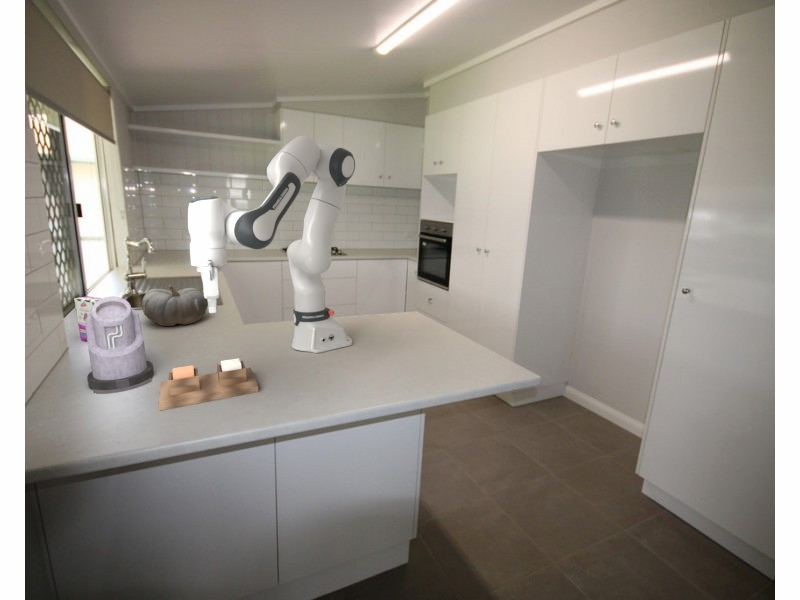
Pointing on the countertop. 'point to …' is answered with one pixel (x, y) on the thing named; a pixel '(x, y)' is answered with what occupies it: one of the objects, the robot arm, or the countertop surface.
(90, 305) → the candy bar box
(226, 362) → the ivory key
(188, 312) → the gourd
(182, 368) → the terracotta key
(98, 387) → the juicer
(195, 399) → the key panel
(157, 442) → the countertop surface
